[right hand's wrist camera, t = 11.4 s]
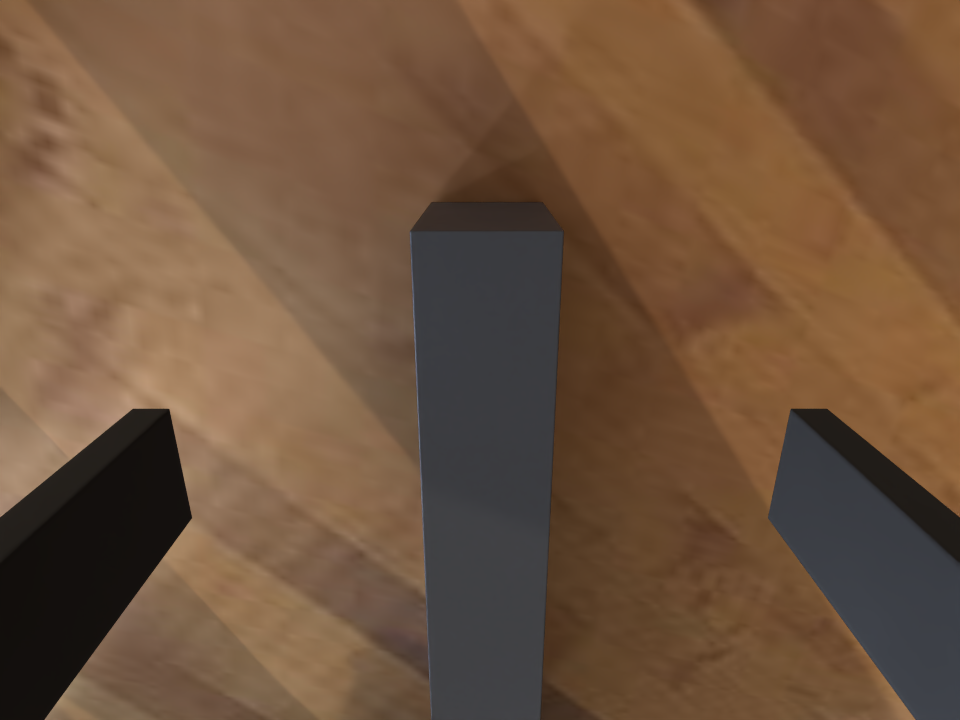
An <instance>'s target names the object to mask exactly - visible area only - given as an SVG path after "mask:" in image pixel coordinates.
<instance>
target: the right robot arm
mask: <svg viewBox="0 0 960 720" xmlns="http://www.w3.org/2000/svg"><path fill="white" fill-rule="evenodd" d="M191 519H192V515H191V511H190V506H189V501H188V496H187V491H186V487H185V482H184V477H183V472H182V468H181V463H180V458H179V453H178V448H177V444H176V439H175V434H174V429H173V424H172V420H171V415H170V410H169V409H132V410H131V411H130V412H129V413H127V414H126V415H125V416H124V417H122V418H121V419H120V420H119V421H118V422H116V423H115V424H114V425H113V426H111V427H110V428H109V429H108V430H107V431H105V432H104V433H103V434H102V435H100V436H99V437H98V438H97V439H96V440H94V441H93V442H92V443H91V444H89V445H88V446H87V447H86V448H85V449H83V450H82V451H81V452H80V453H78V454H77V455H76V456H75V457H74V458H72V459H71V460H70V461H69V462H67V463H66V464H65V465H64V466H63V467H61V468H60V469H59V470H58V471H56V472H55V473H54V474H53V475H52V476H50V477H49V478H48V479H47V480H45V481H44V482H43V483H42V484H41V485H39V486H38V487H37V488H36V489H34V490H33V491H32V492H31V493H30V494H28V495H27V496H26V497H25V498H23V499H22V500H21V501H20V502H19V503H17V504H16V505H15V506H14V507H12V508H11V509H10V510H9V511H8V512H6V513H5V514H4V515H3V516H1V517H0V720H44V719H45V718H46V717H47V715H48V714H49V713H50V711H51V710H52V708H53V707H54V706H55V704H56V703H57V702H58V700H59V699H60V697H61V696H62V695H63V693H64V692H65V691H66V689H67V688H68V687H69V685H70V684H71V682H72V681H73V680H74V678H75V677H76V676H77V674H78V673H79V672H80V670H81V669H82V667H83V666H84V665H85V663H86V662H87V661H88V659H89V658H90V657H91V655H92V654H93V652H94V651H95V650H96V648H97V647H98V646H99V644H100V643H101V642H102V640H103V639H104V637H105V636H106V635H107V633H108V632H109V631H110V629H111V628H112V627H113V625H114V624H115V622H116V621H117V620H118V618H119V617H120V616H121V614H122V613H123V611H124V610H125V609H126V607H127V606H128V605H129V603H130V602H131V601H132V599H133V598H134V596H135V595H136V594H137V592H138V591H139V590H140V588H141V587H142V586H143V584H144V583H145V581H146V580H147V579H148V577H149V576H150V575H151V573H152V572H153V571H154V569H155V568H156V566H157V565H158V564H159V562H160V561H161V560H162V558H163V557H164V556H165V554H166V553H167V551H168V550H169V549H170V547H171V546H172V545H173V543H174V542H175V541H176V539H177V538H178V536H179V535H180V534H181V532H182V531H183V530H184V528H185V527H186V525H187V524H188V523H189V521H190V520H191ZM768 519H769V520H770V521H771V523H772V524H773V526H774V527H775V528H776V530H777V531H778V532H779V534H780V535H781V536H782V538H783V539H784V541H785V542H786V543H787V545H788V546H789V547H790V549H791V550H792V551H793V553H794V554H795V556H796V557H797V558H798V560H799V561H800V562H801V564H802V565H803V566H804V568H805V569H806V571H807V572H808V573H809V575H810V576H811V577H812V579H813V580H814V581H815V583H816V584H817V586H818V587H819V588H820V590H821V591H822V592H823V594H824V595H825V596H826V598H827V599H828V601H829V602H830V603H831V605H832V606H833V607H834V609H835V610H836V612H837V613H838V614H839V616H840V617H841V618H842V620H843V621H844V622H845V624H846V625H847V627H848V628H849V629H850V631H851V632H852V633H853V635H854V636H855V637H856V639H857V640H858V642H859V643H860V644H861V646H862V647H863V648H864V650H865V651H866V652H867V654H868V655H869V657H870V658H871V659H872V661H873V662H874V663H875V665H876V666H877V667H878V669H879V670H880V672H881V673H882V674H883V676H884V677H885V678H886V680H887V681H888V682H889V684H890V685H891V687H892V688H893V689H894V691H895V692H896V693H897V695H898V696H899V697H900V699H901V700H902V702H903V703H904V704H905V706H906V707H907V708H908V710H909V711H910V713H911V714H912V715H913V717H914V718H915V719H916V720H960V517H959V516H957V515H956V514H955V513H954V512H952V511H951V510H950V509H949V508H948V507H946V506H945V505H944V504H943V503H941V502H940V501H939V500H938V499H937V498H935V497H934V496H933V495H932V494H930V493H929V492H928V491H927V490H926V489H924V488H923V487H922V486H921V485H919V484H918V483H917V482H916V481H915V480H913V479H912V478H911V477H910V476H908V475H907V474H906V473H905V472H904V471H902V470H901V469H900V468H899V467H897V466H896V465H895V464H894V463H893V462H891V461H890V460H889V459H888V458H886V457H885V456H884V455H883V454H882V453H880V452H879V451H878V450H877V449H875V448H874V447H873V446H872V445H871V444H869V443H868V442H867V441H866V440H864V439H863V438H862V437H861V436H860V435H858V434H857V433H856V432H855V431H853V430H852V429H851V428H850V427H849V426H847V425H846V424H845V423H844V422H842V421H841V420H840V419H839V418H838V417H836V416H835V415H834V414H833V413H831V412H830V411H829V410H828V409H791V410H790V415H789V420H788V424H787V429H786V434H785V439H784V444H783V448H782V453H781V458H780V463H779V468H778V472H777V477H776V482H775V487H774V491H773V496H772V501H771V506H770V511H769V515H768Z"/></svg>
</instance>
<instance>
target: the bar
mask: <svg viewBox="0 0 960 720" xmlns="http://www.w3.org/2000/svg"><path fill="white" fill-rule="evenodd" d="M563 239H564V231H563V230H562V228H561V227H560V225H559V224H558V223H557V221H556V220H555V219H554V217H553V216H552V214H551V213H550V212H549V210H548V209H547V208H546V206H545V205H544V204H543V202H432V203H431V204H430V205H429V206H428V208H427V209H426V210H425V212H424V213H423V214H422V216H421V217H420V218H419V220H418V221H417V222H416V224H415V225H414V227H413V228H412V229H411V231H410V246H411V269H412V292H413V315H414V338H415V360H416V383H417V406H418V429H419V452H420V474H421V497H422V520H423V543H424V566H425V588H426V611H427V634H428V657H429V680H430V702H431V720H540V718H541V697H542V677H543V656H544V635H545V614H546V593H547V572H548V552H549V531H550V510H551V489H552V468H553V448H554V427H555V406H556V385H557V364H558V344H559V323H560V302H561V281H562V260H563Z"/></svg>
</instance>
